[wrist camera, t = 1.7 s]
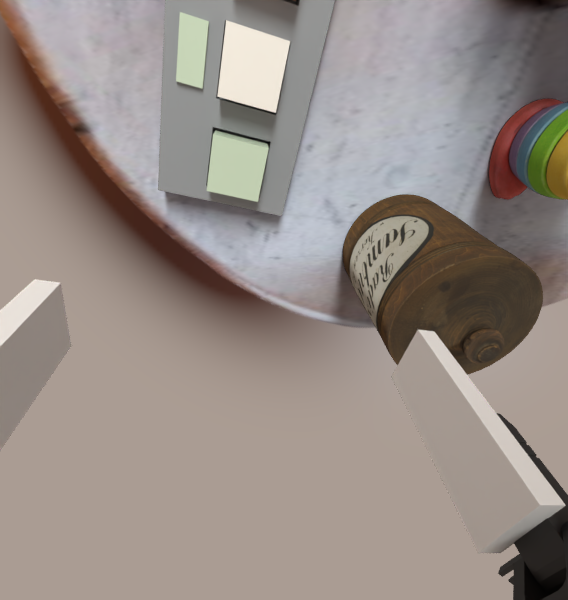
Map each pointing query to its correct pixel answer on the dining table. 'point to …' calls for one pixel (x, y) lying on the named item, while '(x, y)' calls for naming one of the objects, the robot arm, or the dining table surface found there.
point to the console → (226, 113)
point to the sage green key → (236, 166)
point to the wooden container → (439, 282)
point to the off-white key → (252, 67)
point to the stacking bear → (532, 152)
